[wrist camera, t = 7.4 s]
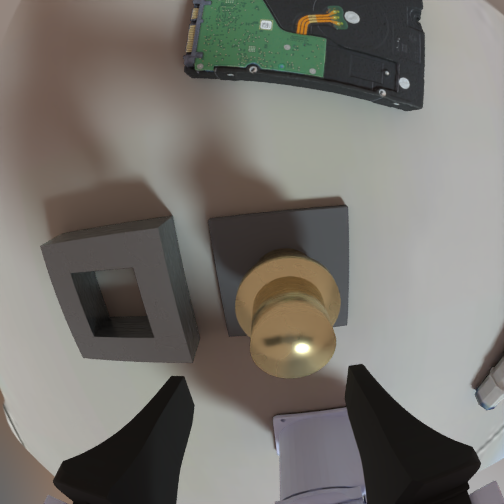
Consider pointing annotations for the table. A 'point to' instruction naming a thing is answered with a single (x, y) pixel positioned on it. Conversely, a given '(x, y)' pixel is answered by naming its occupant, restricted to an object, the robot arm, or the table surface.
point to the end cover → (289, 313)
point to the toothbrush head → (492, 387)
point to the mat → (276, 237)
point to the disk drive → (313, 46)
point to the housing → (149, 282)
